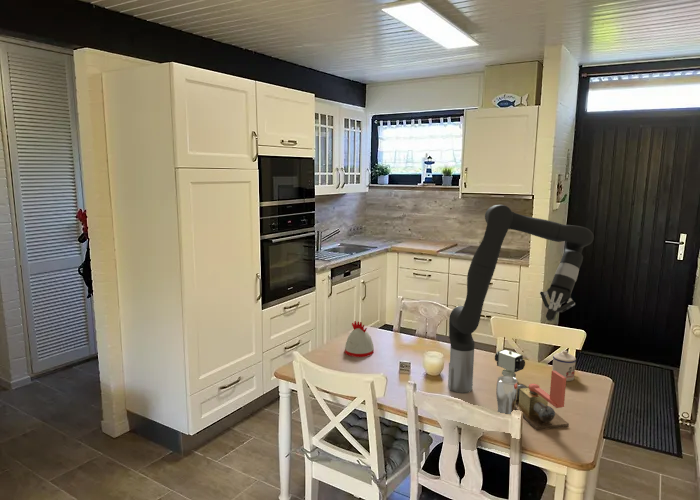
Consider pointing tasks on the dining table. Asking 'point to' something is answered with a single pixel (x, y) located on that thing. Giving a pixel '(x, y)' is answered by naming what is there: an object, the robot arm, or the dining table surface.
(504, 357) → the pneumatic valve
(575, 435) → the dining table surface
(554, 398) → the lever
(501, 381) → the grey vase
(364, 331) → the grey beanie hat
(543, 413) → the valve body
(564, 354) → the teacup with lid
